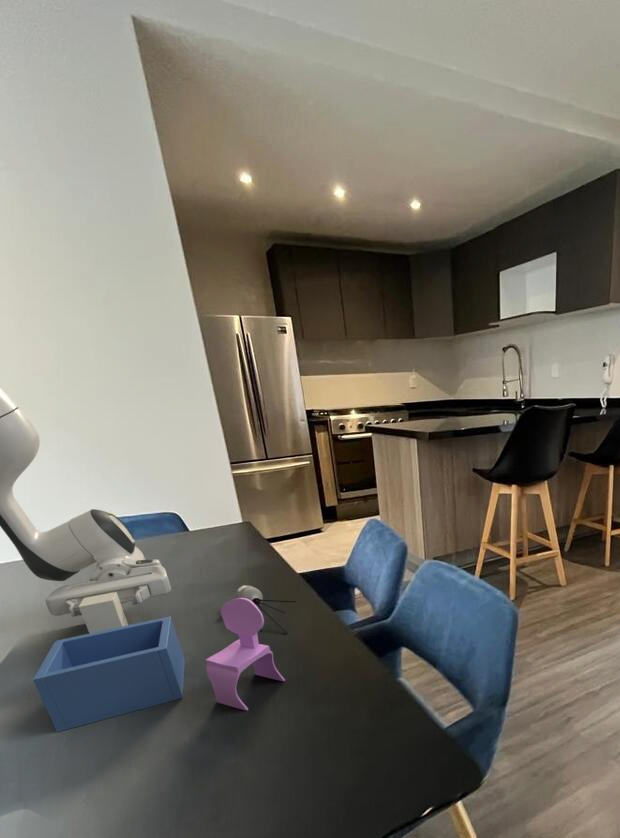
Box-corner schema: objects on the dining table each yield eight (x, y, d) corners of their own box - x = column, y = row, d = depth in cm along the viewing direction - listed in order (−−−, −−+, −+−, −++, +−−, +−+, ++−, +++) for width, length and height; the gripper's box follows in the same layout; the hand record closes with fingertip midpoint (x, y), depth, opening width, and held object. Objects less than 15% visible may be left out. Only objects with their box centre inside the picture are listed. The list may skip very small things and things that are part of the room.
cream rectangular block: (101, 664, 88) (78, 606, 83) (105, 654, 91) (83, 597, 87) (133, 657, 90) (112, 600, 85) (136, 646, 93) (116, 591, 89)
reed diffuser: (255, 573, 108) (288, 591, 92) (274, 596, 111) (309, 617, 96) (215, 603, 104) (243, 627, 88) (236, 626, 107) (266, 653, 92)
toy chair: (209, 702, 75) (182, 615, 69) (251, 672, 82) (230, 590, 77) (249, 714, 72) (225, 623, 66) (290, 681, 79) (271, 597, 73)
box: (57, 732, 71) (32, 679, 67) (75, 688, 81) (55, 640, 78) (182, 698, 77) (166, 648, 73) (185, 661, 87) (170, 615, 84)
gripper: (50, 577, 96) (30, 603, 85) (167, 557, 104) (162, 578, 92) (62, 606, 99) (43, 635, 87) (175, 584, 106) (172, 608, 95)
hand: (106, 606), depth 90 cm, fingers open, 8 cm apart
